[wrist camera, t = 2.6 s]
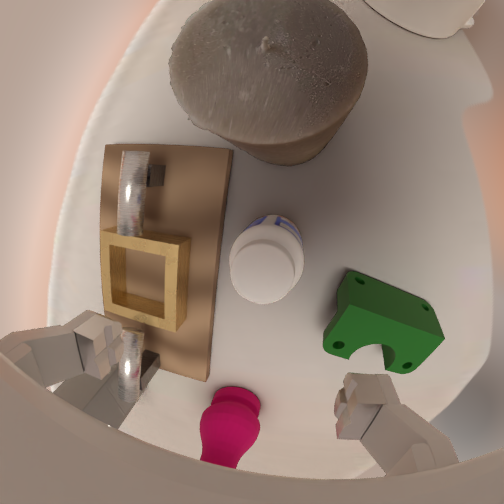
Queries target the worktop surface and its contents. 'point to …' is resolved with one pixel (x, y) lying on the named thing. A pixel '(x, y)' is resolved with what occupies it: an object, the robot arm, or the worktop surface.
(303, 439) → the worktop surface
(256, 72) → the pillar candle
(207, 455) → the pepper mill
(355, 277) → the clamp
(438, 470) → the robot arm
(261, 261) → the pill bottle
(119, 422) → the skincare box
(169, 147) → the shaft stand
